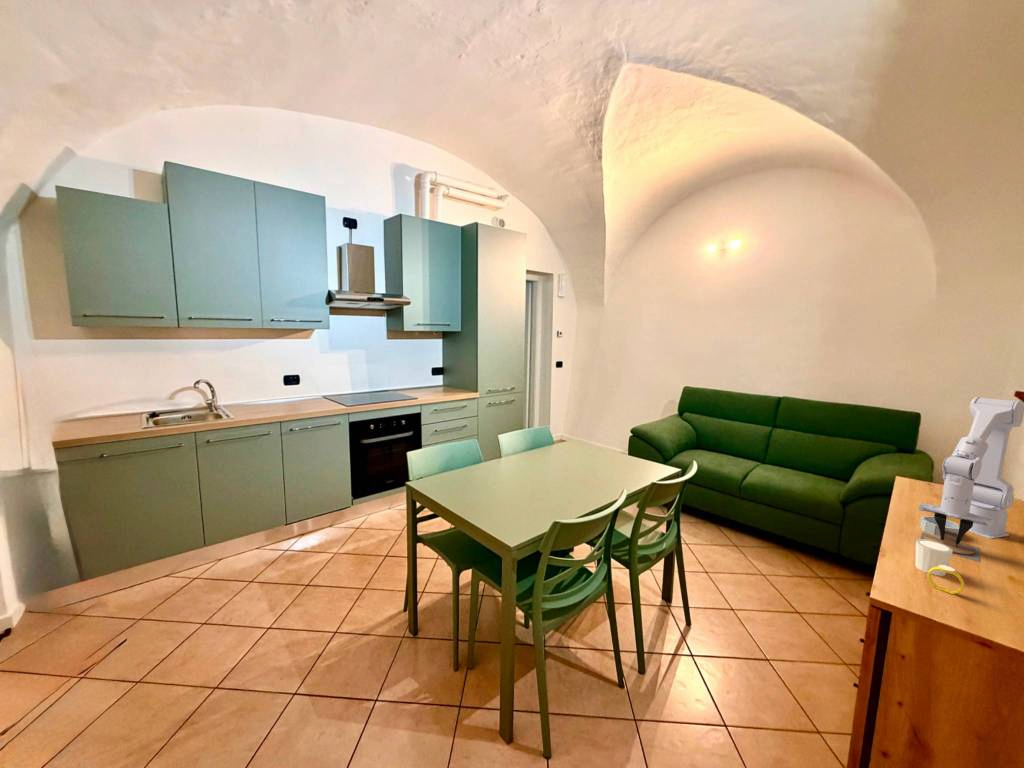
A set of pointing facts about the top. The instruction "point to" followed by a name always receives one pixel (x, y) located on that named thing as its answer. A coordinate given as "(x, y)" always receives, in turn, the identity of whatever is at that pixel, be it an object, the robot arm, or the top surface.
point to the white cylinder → (932, 555)
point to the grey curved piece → (931, 525)
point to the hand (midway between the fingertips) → (949, 541)
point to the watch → (947, 570)
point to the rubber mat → (973, 557)
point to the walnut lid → (952, 543)
